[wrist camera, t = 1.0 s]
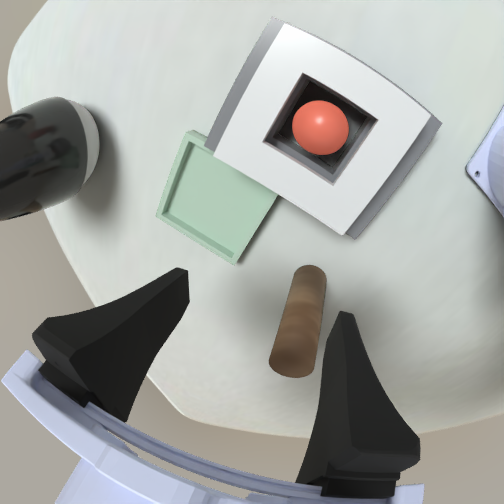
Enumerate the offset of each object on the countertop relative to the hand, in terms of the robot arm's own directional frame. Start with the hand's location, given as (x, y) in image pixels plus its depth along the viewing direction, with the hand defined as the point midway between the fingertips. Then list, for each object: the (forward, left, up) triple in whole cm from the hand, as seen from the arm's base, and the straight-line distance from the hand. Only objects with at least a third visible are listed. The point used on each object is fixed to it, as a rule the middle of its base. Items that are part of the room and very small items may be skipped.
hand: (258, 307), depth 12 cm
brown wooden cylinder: (-4, +4, -10) cm, 11 cm away
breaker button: (+2, -7, -9) cm, 11 cm away
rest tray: (+6, +2, -10) cm, 12 cm away
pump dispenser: (+22, +4, -10) cm, 24 cm away
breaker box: (+2, -7, -10) cm, 12 cm away
